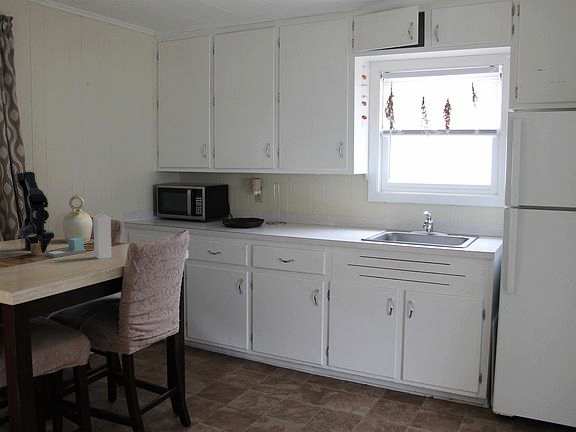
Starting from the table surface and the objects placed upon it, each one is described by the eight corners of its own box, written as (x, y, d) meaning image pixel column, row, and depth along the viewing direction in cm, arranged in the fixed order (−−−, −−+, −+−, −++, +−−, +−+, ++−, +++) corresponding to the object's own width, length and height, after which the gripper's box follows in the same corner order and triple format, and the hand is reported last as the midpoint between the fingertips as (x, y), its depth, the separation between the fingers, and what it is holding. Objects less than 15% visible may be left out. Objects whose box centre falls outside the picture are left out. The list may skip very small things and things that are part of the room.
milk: (98, 259, 261) (97, 211, 259) (94, 257, 266) (92, 210, 263) (111, 257, 265) (110, 210, 262) (107, 255, 270) (105, 209, 267)
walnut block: (31, 254, 272) (30, 244, 271) (41, 253, 276) (40, 242, 275) (36, 255, 269) (36, 245, 268) (46, 254, 273) (46, 243, 272)
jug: (87, 243, 303) (85, 196, 300) (57, 243, 303) (56, 196, 300) (97, 239, 318) (95, 194, 315) (69, 238, 318) (67, 194, 315)
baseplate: (45, 255, 268) (45, 252, 268) (78, 250, 281) (78, 247, 281) (54, 257, 264) (53, 254, 264) (86, 252, 277) (86, 249, 277)
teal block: (68, 249, 276) (68, 239, 275) (77, 248, 280) (77, 238, 279) (74, 250, 273) (74, 240, 272) (83, 249, 277) (83, 239, 276)
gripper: (10, 219, 269) (12, 252, 271) (31, 222, 258) (32, 256, 260) (33, 217, 278) (34, 248, 280) (54, 220, 267) (55, 253, 269)
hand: (38, 251), depth 272 cm, fingers open, 7 cm apart
